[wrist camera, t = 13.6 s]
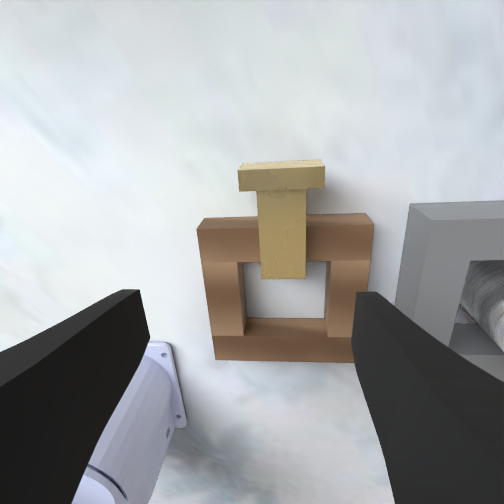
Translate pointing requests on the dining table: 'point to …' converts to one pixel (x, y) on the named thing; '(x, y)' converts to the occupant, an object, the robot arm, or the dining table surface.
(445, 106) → the dining table surface
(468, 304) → the steel round rod
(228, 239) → the socket block
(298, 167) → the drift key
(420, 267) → the gray square frame
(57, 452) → the robot arm
